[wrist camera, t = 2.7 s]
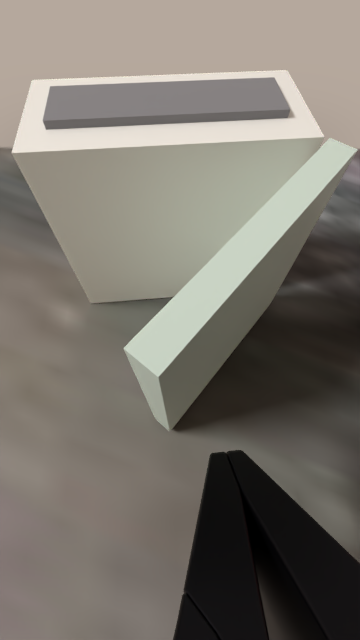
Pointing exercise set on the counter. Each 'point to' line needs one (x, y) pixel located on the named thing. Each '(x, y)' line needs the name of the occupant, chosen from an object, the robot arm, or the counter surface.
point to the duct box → (158, 169)
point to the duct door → (231, 290)
